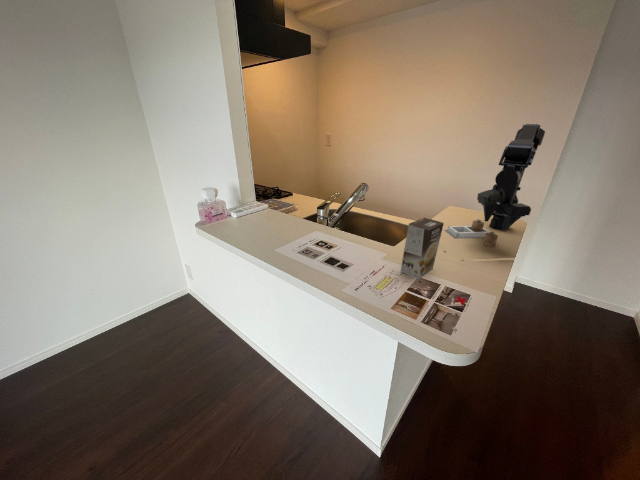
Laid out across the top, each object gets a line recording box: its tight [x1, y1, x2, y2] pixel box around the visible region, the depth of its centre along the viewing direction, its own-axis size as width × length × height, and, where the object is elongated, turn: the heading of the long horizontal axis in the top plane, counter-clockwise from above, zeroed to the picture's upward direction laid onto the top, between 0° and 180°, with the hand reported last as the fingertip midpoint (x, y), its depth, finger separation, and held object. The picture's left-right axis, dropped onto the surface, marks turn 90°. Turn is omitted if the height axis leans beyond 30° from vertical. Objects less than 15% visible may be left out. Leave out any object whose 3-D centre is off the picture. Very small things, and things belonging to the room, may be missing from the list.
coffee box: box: [400, 217, 444, 280], centre depth 77 cm, size 9×6×16 cm
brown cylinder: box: [482, 231, 499, 248], centre depth 95 cm, size 4×4×6 cm
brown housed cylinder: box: [471, 219, 485, 232], centre depth 104 cm, size 4×4×6 cm
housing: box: [443, 225, 491, 240], centre depth 105 cm, size 16×8×3 cm, turn 94°
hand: (494, 225), depth 93 cm, fingers open, 9 cm apart
